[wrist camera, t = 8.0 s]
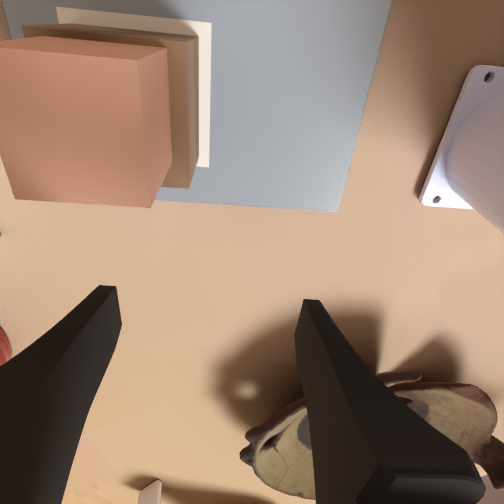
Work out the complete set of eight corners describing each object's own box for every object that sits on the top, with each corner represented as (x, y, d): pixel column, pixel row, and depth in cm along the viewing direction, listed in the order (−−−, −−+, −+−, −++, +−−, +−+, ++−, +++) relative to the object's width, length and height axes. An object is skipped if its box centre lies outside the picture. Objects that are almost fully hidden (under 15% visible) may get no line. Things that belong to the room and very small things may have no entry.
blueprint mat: (409, -80, 15) (413, -82, 14) (336, 210, 23) (337, 212, 22) (-30, -137, 14) (-36, -140, 13) (54, 190, 21) (51, 193, 21)
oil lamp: (333, 293, 27) (361, 378, 21) (554, 400, 36) (620, 481, 30) (205, 427, 38) (197, 510, 31) (402, 483, 47) (427, 556, 41)
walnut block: (198, 36, 17) (186, 42, 13) (198, 156, 20) (189, 188, 16) (71, 23, 16) (21, 25, 13) (93, 148, 20) (58, 179, 16)
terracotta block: (166, 47, 13) (137, 60, 9) (172, 162, 16) (150, 207, 12) (44, 36, 13) (-37, 44, 9) (70, 154, 15) (15, 199, 12)
